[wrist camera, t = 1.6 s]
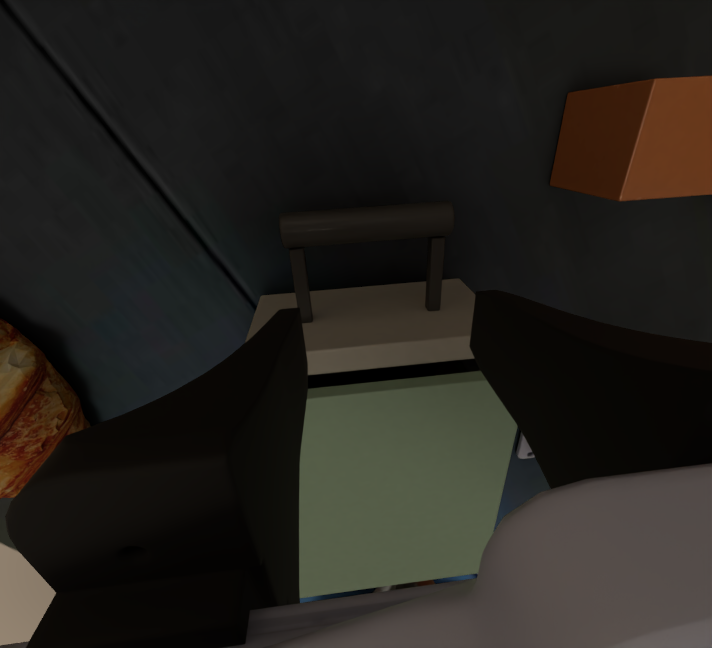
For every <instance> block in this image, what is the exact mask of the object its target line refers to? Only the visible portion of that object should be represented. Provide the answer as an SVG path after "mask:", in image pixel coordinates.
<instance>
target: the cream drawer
mask: <svg viewBox="0 0 712 648" xmlns="http://www.w3.org/2000/svg"><path fill="white" fill-rule="evenodd" d="M279 227H280V235H281V240H282V244H283V246H284V248H289V254H290V261H291V268H292V274H293V281H294V288H295V293H286V294H274V295H263V296H261V297H260V300H259V303H258V306H257V309H256V312H255V315H254V318H253V321H252V323H251V326H250V329H249V332H248V335H247V338H246V341H245V343H246V342H247V341H248V340H249V339H250V338H251V337H252V336H254V335H255V334H256V333H257V332H258V331H259V330H260V329H261V328H262V327H263V326H264V325H265V324H266V323H267V322H268V321H269V320H270V318H271V317H272V316H273V315H274V314H275V313H276V312H277V311H278V310H280V309H288V308H299V307H300V313H301V320H302V327H303V333H304V340H305V347H306V354H307V361H308V389H311V388H320V387H330V386H340V385H349V384H359V383H369V382H378V381H388V380H397V379H407V378H417V377H426V376H436V375H446V374H455V373H465V372H474V371H480V369H479V367H478V364H477V362H476V360H475V358H474V356H473V354H472V351H471V349H470V347H469V345H470V337H471V328H472V320H473V312H474V304H475V296H476V295H475V294H474V293H473V292H472V291H471V290H470V289H469V288H468V287H467V286H466V285H465V284H464V283H463V282H462V281H461V280H460V279H447V280H442V276H443V262H444V248H445V237H444V236H448V235H450V234H451V233H452V231H453V227H454V209H453V205H452V203H451V202H450V201H439V202H425V203H412V204H398V205H384V206H370V207H357V208H343V209H329V210H315V211H302V212H288V213H281V214H280V216H279ZM423 237H428V255H427V276H426V281H424V282H412V283H401V284H389V285H378V286H366V287H355V288H343V289H332V290H320V291H309V283H308V275H307V267H306V259H305V251H304V247H309V246H322V245H335V244H347V243H360V242H373V241H385V240H398V239H411V238H423Z"/></svg>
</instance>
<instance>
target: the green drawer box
mask: <svg viewBox="0 0 712 648" xmlns="http://www.w3.org/2000/svg"><path fill="white" fill-rule="evenodd" d="M516 431H517V424H516V423H515V421H514V420H513V418H512V417H511V415H510V414H509V412H508V411H507V409H506V408H505V406H504V405H503V404H502V402H501V401H500V399H499V398H498V396H497V395H496V393H495V392H494V390H493V389H492V387H491V386H490V384H489V383H488V381H487V380H486V378H485V377H484V375H483V374H482V372H481V371H474V372H465V373H455V374H446V375H436V376H426V377H417V378H407V379H397V380H388V381H378V382H369V383H359V384H349V385H340V386H330V387H320V388H311V389H308V393H307V402H306V410H305V419H304V427H303V435H302V443H301V453H300V480H299V591H300V598H304V597H312V596H319V595H326V594H333V593H340V592H347V591H354V590H361V589H369V588H376V587H383V586H390V585H397V584H404V583H411V582H418V581H426V580H433V579H440V578H447V577H454V576H461V575H468V574H476V573H478V571H479V567H480V562H481V557H482V553H483V551H484V549H485V547H486V545H487V542H488V541H489V539H490V538H491V536H492V535H493V531H494V526H495V522H496V518H497V513H498V509H499V505H500V500H501V496H502V492H503V487H504V483H505V479H506V474H507V470H508V466H509V461H510V457H511V453H512V448H513V444H514V440H515V435H516Z"/></svg>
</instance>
